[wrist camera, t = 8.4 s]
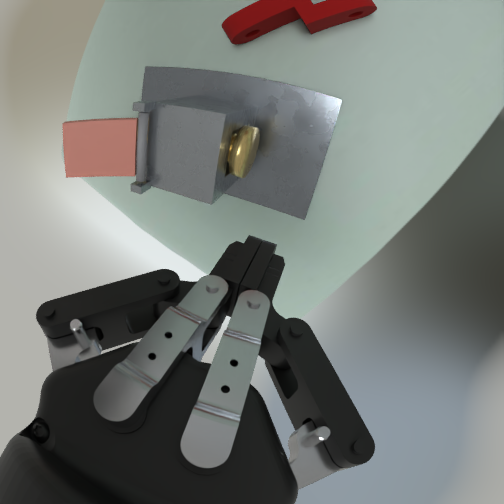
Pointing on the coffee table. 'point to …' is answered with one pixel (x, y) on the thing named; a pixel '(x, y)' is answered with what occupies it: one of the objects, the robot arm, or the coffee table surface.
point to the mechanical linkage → (292, 16)
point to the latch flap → (106, 147)
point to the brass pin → (242, 150)
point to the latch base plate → (220, 132)
